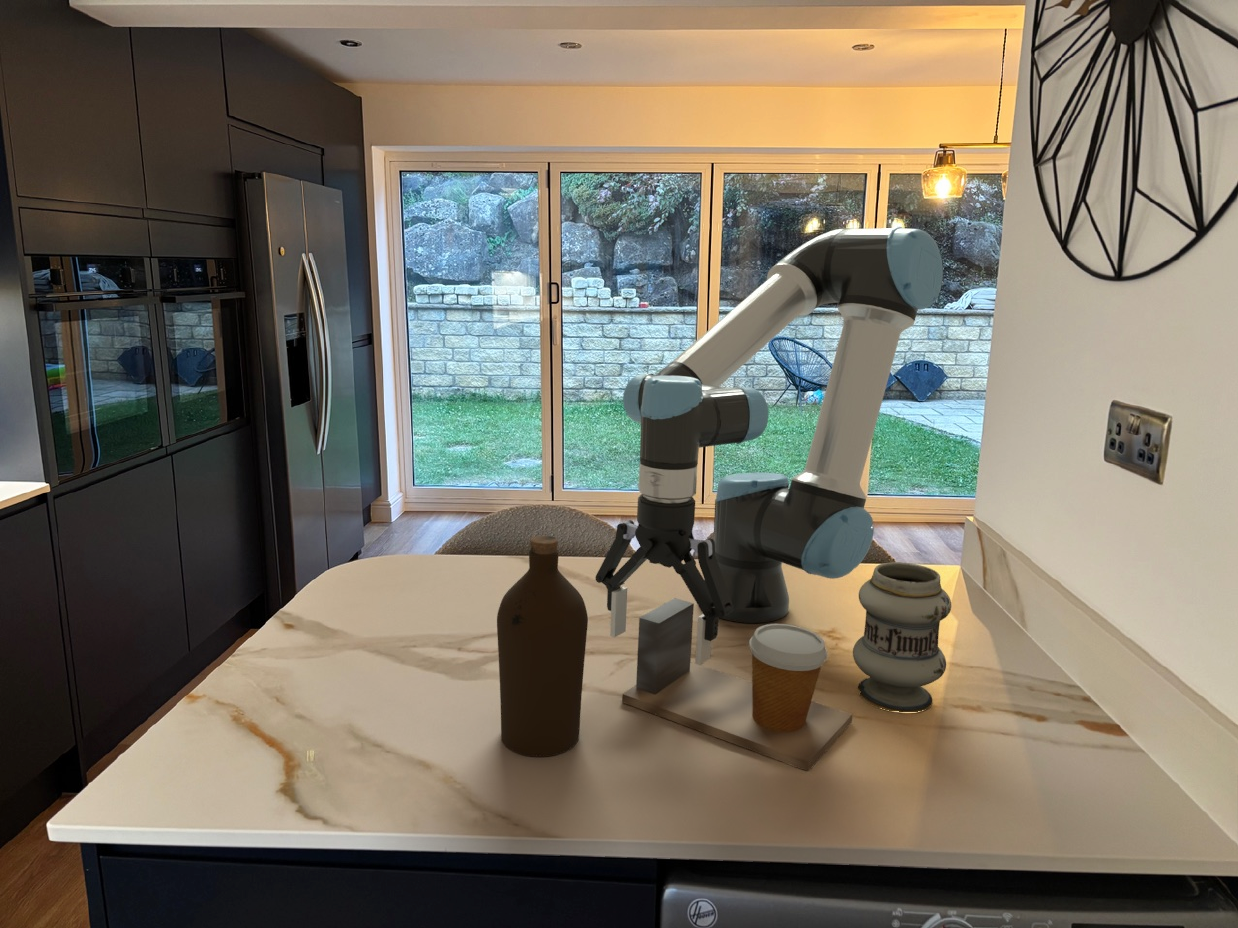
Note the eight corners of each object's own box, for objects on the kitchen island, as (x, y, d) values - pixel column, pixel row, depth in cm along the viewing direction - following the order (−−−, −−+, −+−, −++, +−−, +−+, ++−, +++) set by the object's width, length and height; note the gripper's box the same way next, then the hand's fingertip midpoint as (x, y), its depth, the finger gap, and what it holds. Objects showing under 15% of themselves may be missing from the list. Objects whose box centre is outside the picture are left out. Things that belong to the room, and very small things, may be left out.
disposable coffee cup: (812, 754, 104) (825, 662, 101) (733, 735, 107) (744, 645, 104) (819, 716, 113) (831, 631, 110) (746, 700, 116) (756, 616, 113)
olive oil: (581, 762, 101) (588, 555, 95) (489, 758, 101) (490, 552, 95) (586, 716, 111) (592, 527, 105) (502, 712, 111) (504, 524, 105)
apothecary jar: (840, 673, 126) (852, 554, 122) (924, 677, 125) (939, 558, 121) (860, 715, 114) (874, 585, 110) (953, 720, 113) (971, 589, 110)
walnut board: (622, 702, 115) (625, 622, 112) (677, 665, 126) (681, 592, 124) (808, 771, 100) (816, 681, 98) (851, 722, 112) (860, 641, 109)
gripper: (573, 484, 118) (569, 631, 122) (739, 519, 104) (727, 683, 109) (605, 475, 124) (600, 615, 128) (766, 507, 110) (754, 663, 115)
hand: (659, 647), depth 119 cm, fingers open, 13 cm apart
